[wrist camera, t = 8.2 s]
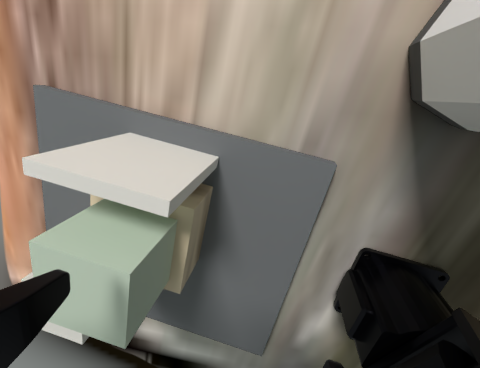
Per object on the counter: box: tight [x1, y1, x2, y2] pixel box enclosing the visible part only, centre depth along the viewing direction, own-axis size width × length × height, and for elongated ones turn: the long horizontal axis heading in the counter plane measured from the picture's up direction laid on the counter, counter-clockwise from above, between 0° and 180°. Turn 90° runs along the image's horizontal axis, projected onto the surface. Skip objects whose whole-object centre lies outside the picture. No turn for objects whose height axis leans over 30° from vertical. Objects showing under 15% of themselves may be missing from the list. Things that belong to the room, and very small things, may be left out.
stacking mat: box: [22, 85, 337, 356], centre depth 18 cm, size 23×20×9 cm
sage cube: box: [29, 199, 178, 349], centre depth 14 cm, size 5×5×5 cm
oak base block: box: [90, 183, 213, 294], centre depth 18 cm, size 7×7×4 cm
